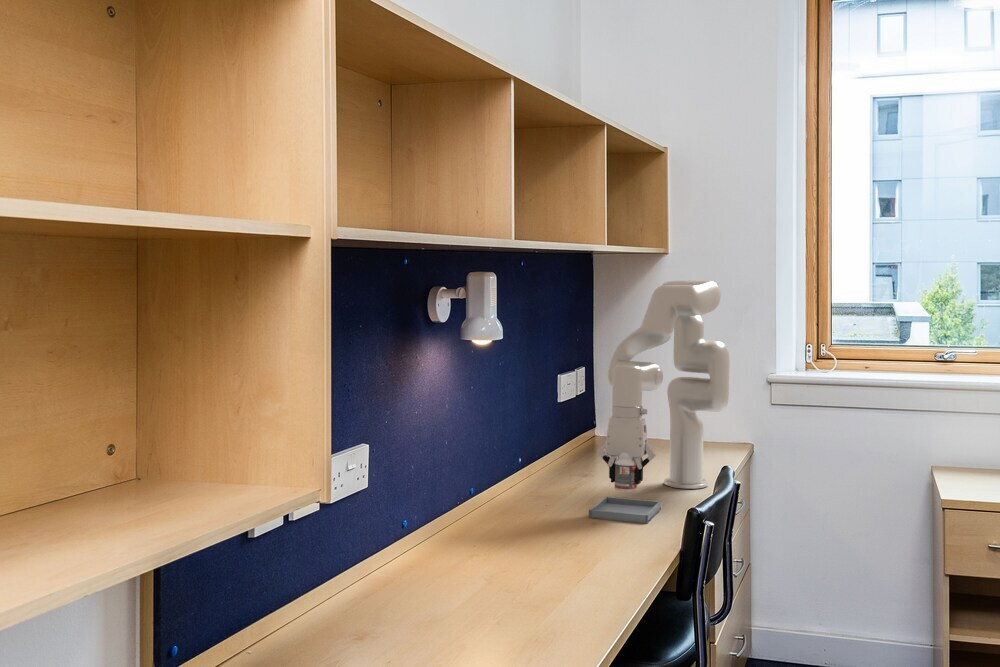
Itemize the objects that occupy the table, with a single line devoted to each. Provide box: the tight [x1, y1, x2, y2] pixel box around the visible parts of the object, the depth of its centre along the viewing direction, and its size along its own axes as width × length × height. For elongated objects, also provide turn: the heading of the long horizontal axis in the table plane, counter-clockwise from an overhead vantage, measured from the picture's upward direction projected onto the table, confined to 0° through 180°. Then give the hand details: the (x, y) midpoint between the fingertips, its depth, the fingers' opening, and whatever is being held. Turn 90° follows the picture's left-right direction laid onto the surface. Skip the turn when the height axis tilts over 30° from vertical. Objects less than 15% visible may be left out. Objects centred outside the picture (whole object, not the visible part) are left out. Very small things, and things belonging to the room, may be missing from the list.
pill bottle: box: [614, 453, 638, 493], centre depth 249 cm, size 6×6×10 cm
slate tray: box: [588, 496, 662, 524], centre depth 249 cm, size 16×15×2 cm
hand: (625, 481), depth 249 cm, fingers closed on pill bottle, 5 cm apart
